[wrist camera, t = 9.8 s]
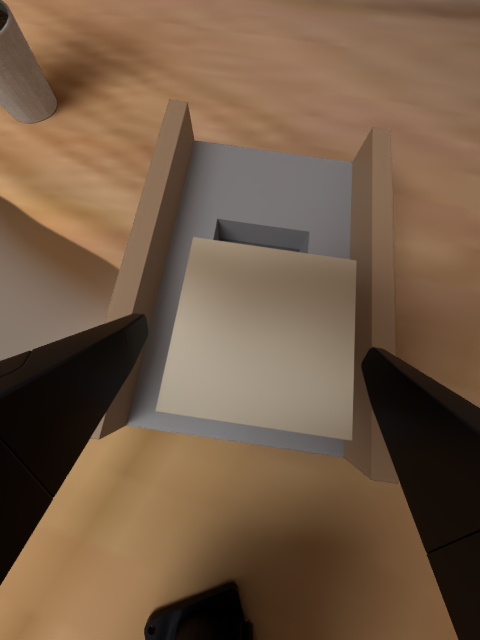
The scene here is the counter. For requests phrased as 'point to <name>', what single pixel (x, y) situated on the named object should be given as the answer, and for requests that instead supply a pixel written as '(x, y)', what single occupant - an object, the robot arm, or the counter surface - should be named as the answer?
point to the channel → (264, 231)
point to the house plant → (21, 75)
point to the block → (264, 340)
